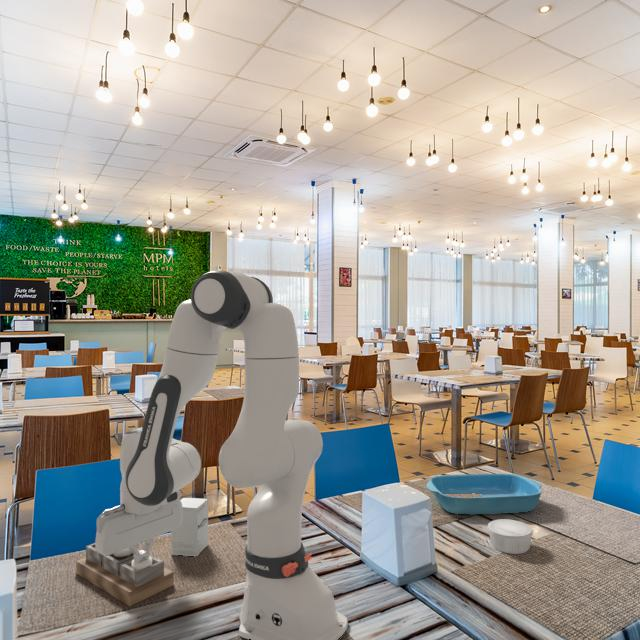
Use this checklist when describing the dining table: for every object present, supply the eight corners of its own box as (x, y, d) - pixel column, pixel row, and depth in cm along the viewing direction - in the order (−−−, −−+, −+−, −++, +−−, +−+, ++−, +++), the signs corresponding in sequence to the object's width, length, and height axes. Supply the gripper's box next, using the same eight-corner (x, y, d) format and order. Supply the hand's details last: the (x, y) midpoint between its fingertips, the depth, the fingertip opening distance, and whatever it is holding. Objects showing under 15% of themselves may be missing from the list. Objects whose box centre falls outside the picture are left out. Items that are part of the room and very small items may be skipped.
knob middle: (137, 551, 120) (137, 537, 120) (120, 558, 117) (119, 544, 116) (127, 546, 123) (126, 533, 123) (109, 553, 119) (109, 539, 119)
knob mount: (173, 585, 117) (173, 558, 117) (129, 606, 108) (129, 578, 108) (118, 556, 131) (118, 533, 131) (76, 573, 122) (76, 548, 122)
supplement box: (197, 557, 130) (196, 508, 130) (170, 555, 132) (169, 506, 132) (209, 545, 137) (208, 498, 137) (183, 543, 139) (183, 496, 139)
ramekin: (488, 553, 132) (488, 533, 132) (487, 535, 143) (487, 516, 143) (535, 559, 129) (534, 538, 129) (530, 540, 139) (530, 521, 139)
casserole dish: (437, 520, 154) (437, 496, 154) (419, 495, 176) (418, 474, 176) (556, 517, 156) (556, 493, 156) (523, 492, 178) (523, 471, 178)
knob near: (156, 573, 115) (156, 559, 115) (138, 581, 112) (138, 567, 112) (145, 567, 118) (144, 554, 118) (127, 575, 115) (127, 561, 115)
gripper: (104, 516, 105) (105, 583, 105) (186, 489, 121) (187, 548, 121) (89, 509, 109) (89, 574, 109) (170, 484, 125) (170, 540, 125)
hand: (141, 560), depth 115 cm, fingers closed, pressing on knob near
